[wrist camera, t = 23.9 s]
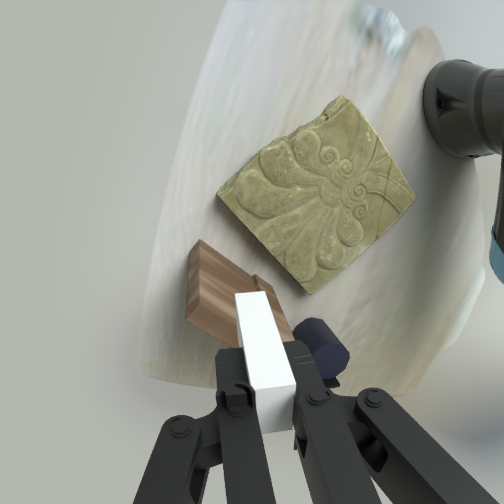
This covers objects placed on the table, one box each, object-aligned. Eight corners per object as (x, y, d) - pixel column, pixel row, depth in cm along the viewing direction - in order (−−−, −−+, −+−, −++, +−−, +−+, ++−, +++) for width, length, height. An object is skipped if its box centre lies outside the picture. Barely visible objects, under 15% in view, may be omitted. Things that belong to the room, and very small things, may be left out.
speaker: (315, 359, 49) (336, 399, 39) (282, 353, 48) (299, 396, 38) (334, 318, 47) (362, 354, 37) (300, 310, 46) (323, 348, 36)
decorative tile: (408, 195, 41) (422, 201, 38) (304, 288, 44) (311, 301, 41) (334, 84, 34) (346, 81, 31) (210, 189, 37) (210, 195, 34)
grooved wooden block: (203, 234, 39) (205, 302, 24) (274, 285, 43) (308, 364, 28) (186, 255, 40) (180, 331, 25) (257, 303, 44) (283, 386, 29)
